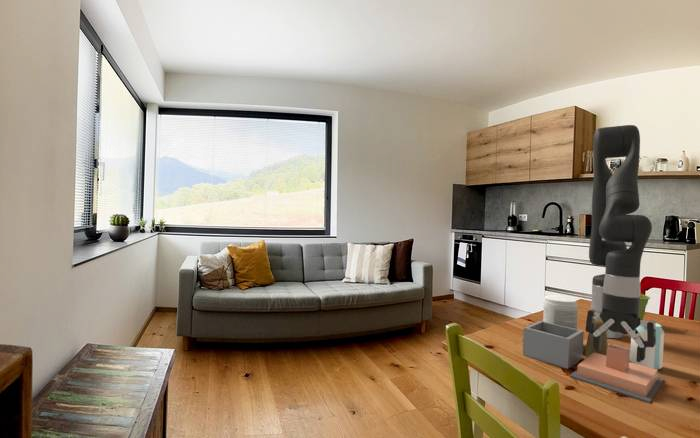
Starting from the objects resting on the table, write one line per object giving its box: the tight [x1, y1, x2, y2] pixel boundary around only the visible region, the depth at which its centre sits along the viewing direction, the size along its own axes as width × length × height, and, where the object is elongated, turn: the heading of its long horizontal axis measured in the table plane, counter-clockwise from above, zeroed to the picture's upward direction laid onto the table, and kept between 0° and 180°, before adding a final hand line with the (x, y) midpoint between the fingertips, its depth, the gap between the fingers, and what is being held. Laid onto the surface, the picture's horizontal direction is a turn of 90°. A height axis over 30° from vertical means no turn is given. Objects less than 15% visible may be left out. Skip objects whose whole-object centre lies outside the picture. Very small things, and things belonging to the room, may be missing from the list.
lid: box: [576, 343, 659, 397], centre depth 93 cm, size 14×14×8 cm
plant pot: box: [639, 293, 651, 321], centre depth 143 cm, size 12×12×11 cm
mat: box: [569, 369, 665, 404], centre depth 93 cm, size 18×16×1 cm
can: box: [629, 322, 665, 371], centre depth 102 cm, size 7×7×12 cm
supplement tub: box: [542, 294, 579, 329], centre depth 117 cm, size 10×10×15 cm
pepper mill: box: [584, 318, 609, 357], centre depth 108 cm, size 6×6×11 cm
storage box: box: [522, 320, 585, 370], centre depth 106 cm, size 12×12×8 cm
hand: (617, 355), depth 93 cm, fingers open, 8 cm apart
